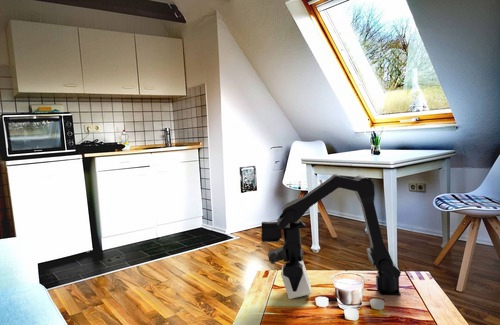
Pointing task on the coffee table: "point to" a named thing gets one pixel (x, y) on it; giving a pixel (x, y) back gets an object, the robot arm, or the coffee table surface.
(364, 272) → the coffee table surface
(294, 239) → the robot arm
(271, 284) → the coffee table surface
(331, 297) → the coffee table surface
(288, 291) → the white upright block
